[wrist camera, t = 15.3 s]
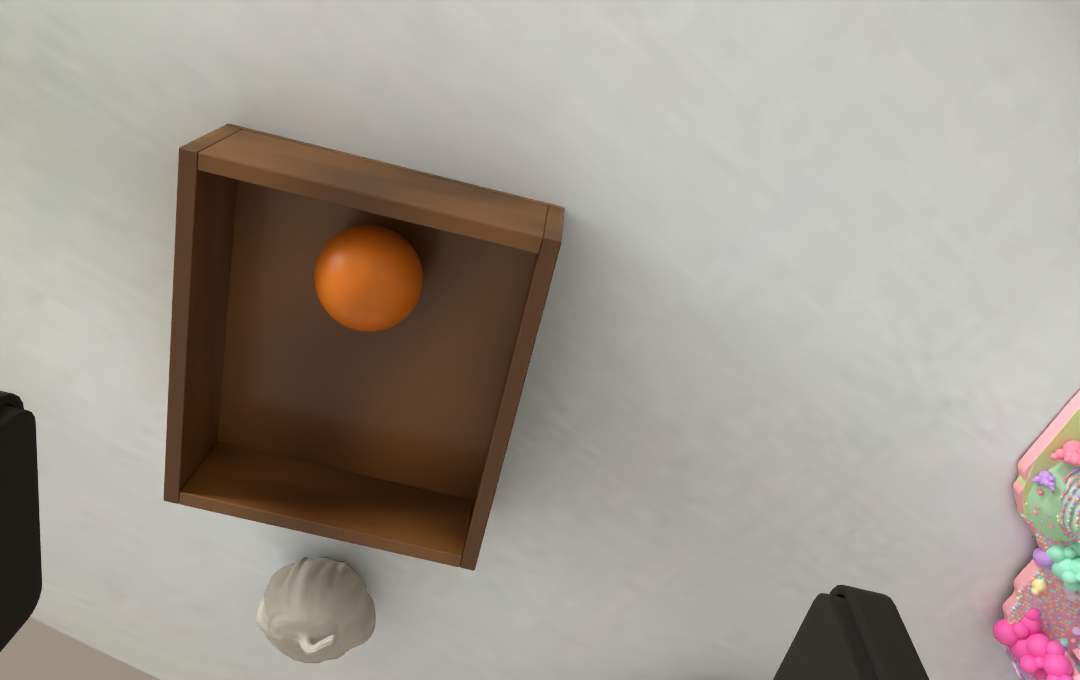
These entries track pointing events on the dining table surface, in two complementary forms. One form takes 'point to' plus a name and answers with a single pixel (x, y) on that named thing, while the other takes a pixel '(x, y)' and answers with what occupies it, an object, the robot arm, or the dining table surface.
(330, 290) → the mandarin
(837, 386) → the dining table surface
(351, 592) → the garlic
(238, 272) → the wooden tray
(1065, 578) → the colourful coral reef
